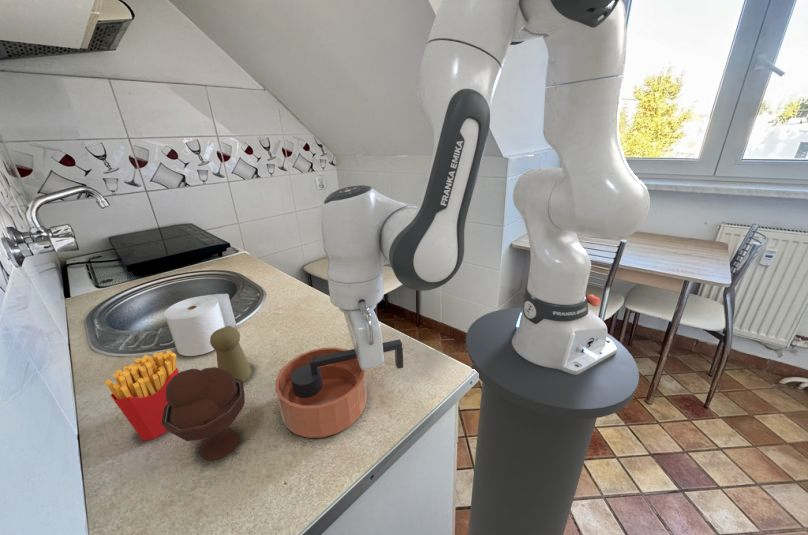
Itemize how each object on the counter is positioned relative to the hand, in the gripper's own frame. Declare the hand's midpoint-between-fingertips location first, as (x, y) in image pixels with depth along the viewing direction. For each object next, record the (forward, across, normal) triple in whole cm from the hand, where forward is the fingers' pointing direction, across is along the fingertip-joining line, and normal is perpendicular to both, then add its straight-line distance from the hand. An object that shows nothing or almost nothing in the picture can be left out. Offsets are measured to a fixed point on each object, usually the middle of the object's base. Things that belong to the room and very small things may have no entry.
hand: (362, 356), depth 58 cm
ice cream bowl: (+9, -3, +24) cm, 26 cm away
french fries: (+9, +5, +34) cm, 36 cm away
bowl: (+9, 0, +8) cm, 11 cm away
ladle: (+4, 0, +3) cm, 5 cm away
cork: (+9, +14, +24) cm, 30 cm away
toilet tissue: (+9, +30, +34) cm, 46 cm away
